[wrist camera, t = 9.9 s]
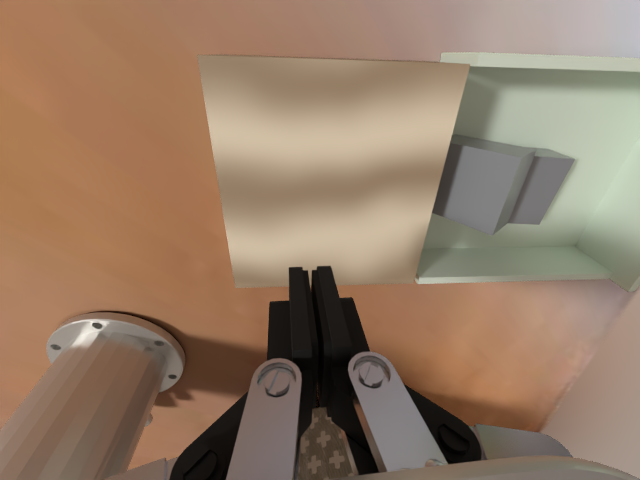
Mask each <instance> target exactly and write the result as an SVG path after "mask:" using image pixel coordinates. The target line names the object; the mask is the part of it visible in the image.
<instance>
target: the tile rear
mask: <svg viewBox="0 0 640 480" xmlns="http://www.w3.org/2000/svg"><path fill="white" fill-rule="evenodd" d="M527 148H532V147H527ZM532 149H537V150H536V153H535V155H534V158H533V160H532V163H531V165H530V168H529V171H528V173H527V176H526V178H525V181H524V183H523V186H522V188H521V191H520V193H519V196H518V198H517V201H516V203H515V206H514V208H513V211H512V213H511V216H510V218H509V221H508V223H510V224H533V225H539V224H540V222H541V221H542V219H543V217H544V215H545V213H546V212H547V210H548V208H549V206H550V204H551V202H552V201H553V199H554V197H555V195H556V193H557V192H558V190H559V188H560V186H561V184H562V182H563V181H564V179H565V177H566V175H567V173H568V172H569V170H570V168H571V166H572V164H573V162H574V161H575V159H574V158H571V157H569V156H566V155H563V154H561V153H558V152H555V151H553V150H550V149H545V148H532Z"/></svg>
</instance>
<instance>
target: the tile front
mask: <svg viewBox="0 0 640 480" xmlns="http://www.w3.org/2000/svg"><path fill="white" fill-rule="evenodd" d="M536 150H537V149H532V148H527V147H521V146H516V145H511V144H505V143H500V142H494V141H489V140H484V139H478V138H473V137H467V136H462V135H457V134H456V135H453V136H452V137H451V141H450V145H449V149H448V152H447V156H446V160H445V164H444V168H443V172H442V175H441V179H440V183H439V187H438V191H437V195H436V199H435V202H434V206H433V210H432V213H434V214H436V215H439V216H442V217H444V218H447V219H450V220H452V221H455V222H457V223H460V224H463V225H465V226H468V227H470V228H473V229H476V230H478V231H481V232H484V233H486V234H489V235H491V236H493V235H494V234H495V233H496V232H498V231H499V230H500V229H501V228H502V227H504V226H505V225H506V224H507V223H508V221H509V218H510V216H511V213H512V211H513V208H514V206H515V203H516V201H517V198H518V196H519V193H520V191H521V188H522V186H523V183H524V181H525V178H526V176H527V173H528V171H529V168H530V165H531V163H532V160H533V158H534V155H535V153H536Z"/></svg>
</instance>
